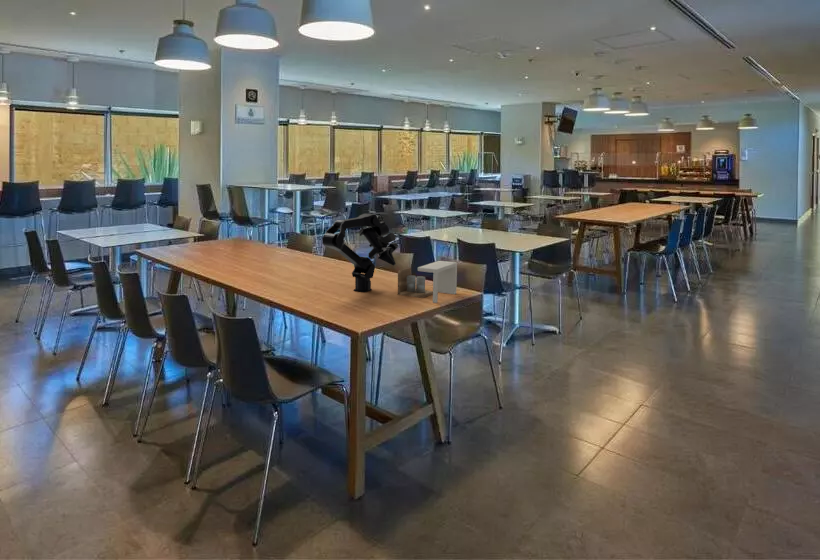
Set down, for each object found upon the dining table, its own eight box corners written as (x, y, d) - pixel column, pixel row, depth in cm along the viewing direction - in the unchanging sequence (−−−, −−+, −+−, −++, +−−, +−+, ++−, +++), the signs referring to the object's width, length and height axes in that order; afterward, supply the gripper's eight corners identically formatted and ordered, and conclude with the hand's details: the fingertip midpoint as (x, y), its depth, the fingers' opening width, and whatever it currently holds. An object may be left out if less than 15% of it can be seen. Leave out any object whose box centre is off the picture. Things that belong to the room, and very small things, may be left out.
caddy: (397, 294, 272) (397, 270, 270) (408, 290, 281) (408, 267, 279) (423, 298, 266) (423, 273, 264) (433, 293, 275) (433, 270, 272)
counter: (417, 300, 261) (417, 267, 258) (438, 291, 279) (439, 260, 276) (435, 302, 257) (436, 269, 254) (456, 293, 275) (457, 262, 272)
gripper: (374, 229, 267) (395, 256, 264) (395, 225, 283) (415, 250, 280) (359, 245, 273) (379, 272, 270) (380, 241, 289) (400, 266, 286)
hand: (394, 264), depth 276 cm, fingers closed
